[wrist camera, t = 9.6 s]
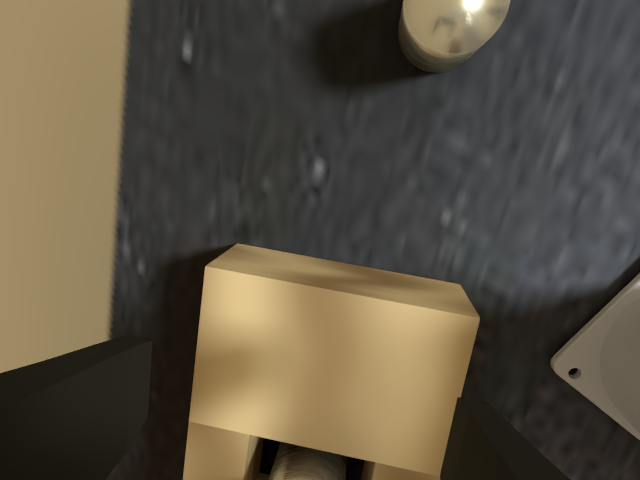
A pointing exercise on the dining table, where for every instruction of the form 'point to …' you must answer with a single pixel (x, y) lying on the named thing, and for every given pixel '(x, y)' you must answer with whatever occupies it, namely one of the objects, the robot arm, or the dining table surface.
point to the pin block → (325, 365)
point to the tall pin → (307, 464)
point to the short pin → (447, 30)
